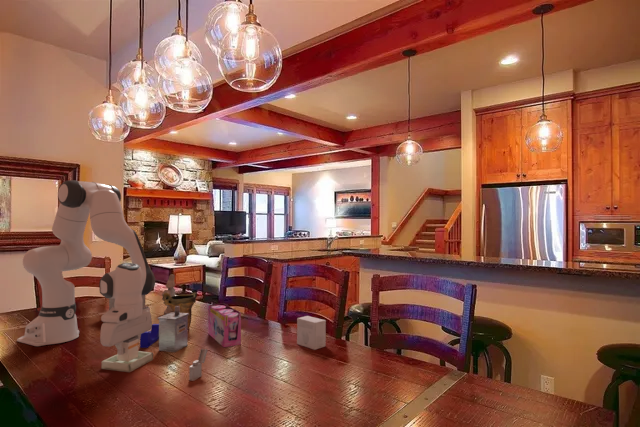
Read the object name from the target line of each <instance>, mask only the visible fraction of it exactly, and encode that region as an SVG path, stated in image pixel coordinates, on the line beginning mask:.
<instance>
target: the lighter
mask: <svg viewBox="0 0 640 427" xmlns="http://www.w3.org/2000/svg"><path fill="white" fill-rule="evenodd" d="M207 354H208V349H207V348H201V349H200V351H199V354H198V358H197V359H196V360H194V361H193V362H192V365H190V366H189V368H188V370H189V372H188V374H189V376H188V377H189V378H188V380H189V381H190V382H191V381H193V382H194V381H196V380H197V379H199V378H200V377H202V368H203V367H202V366H203V365H202V364H205V361H206V357H207Z"/></svg>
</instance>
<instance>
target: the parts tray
mask: <svg viewBox="0 0 640 427" xmlns="http://www.w3.org/2000/svg"><path fill="white" fill-rule="evenodd" d="M151 361H154V353H153V352H149V351H141V350H138V357H137V358H135V359H133V360H131V361H129V362H127V361H119V360H117V354H115V355H112V356H110V357H108V358H105V359H104V360H102V361H101V370H109V371H117V372H125V373H131V372H133V371H135V370H136V369H138V368H140V367H143V366H144V365H146V364H147V363H150V362H151Z"/></svg>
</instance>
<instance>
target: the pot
mask: <svg viewBox="0 0 640 427" xmlns="http://www.w3.org/2000/svg"><path fill="white" fill-rule="evenodd" d="M197 295H198V294H197V292H196V291H194V292H193V293H190V294H177V295H176V294H175V296H172V297H170V295H169V293H164V294H163V296H162V298H163V300H162V301H163V304H164V305H169V306H170V308H171V310H172V312H175V306H180V313H189V315H188V331H189V330H190V326H191V323H192V308H193V306H194V304H195V303H196V301H197V298H198V297H197Z"/></svg>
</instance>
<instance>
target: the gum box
mask: <svg viewBox="0 0 640 427" xmlns="http://www.w3.org/2000/svg"><path fill="white" fill-rule="evenodd" d="M207 308H208V309H207V310H208V316H207V317H208V319H207V320H208V325H207V326H208V335H209V336H210V337H212V339H213V340H214V341H216V342H217V343H218V344H219V345H220V346H222V347H223V348H227V347H228V348H229V347H234V346H239V345H242V318H241V317H242V313H241V312H240V311H239V310H236V309H235V308H233V307H231V306H229V305H228V304H226V303H224V302H223V303H222V302H221V303H213V304H209V305H208V306H207Z"/></svg>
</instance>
